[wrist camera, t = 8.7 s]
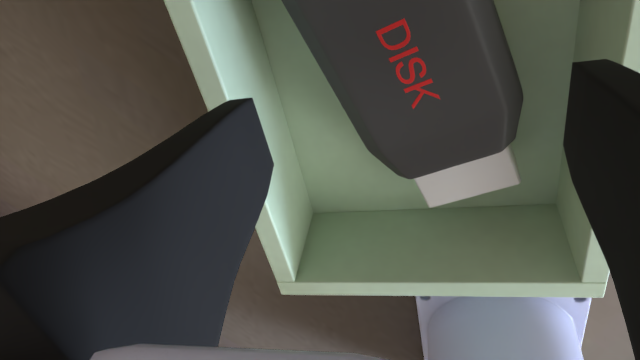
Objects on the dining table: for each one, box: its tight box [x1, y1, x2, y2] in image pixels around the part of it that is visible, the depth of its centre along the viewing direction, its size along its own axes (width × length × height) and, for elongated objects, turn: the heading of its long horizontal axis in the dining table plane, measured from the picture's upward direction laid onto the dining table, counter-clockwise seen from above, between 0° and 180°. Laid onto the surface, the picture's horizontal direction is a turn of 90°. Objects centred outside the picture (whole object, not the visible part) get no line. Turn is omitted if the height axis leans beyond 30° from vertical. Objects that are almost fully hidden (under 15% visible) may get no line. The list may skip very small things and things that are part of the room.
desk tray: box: [164, 0, 640, 298], centre depth 14 cm, size 18×12×5 cm, turn 12°
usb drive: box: [281, 0, 523, 208], centre depth 14 cm, size 5×12×3 cm, turn 30°
